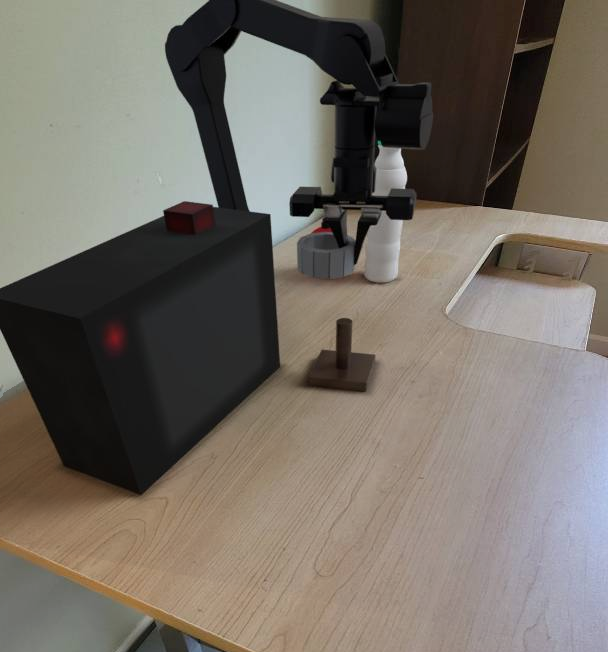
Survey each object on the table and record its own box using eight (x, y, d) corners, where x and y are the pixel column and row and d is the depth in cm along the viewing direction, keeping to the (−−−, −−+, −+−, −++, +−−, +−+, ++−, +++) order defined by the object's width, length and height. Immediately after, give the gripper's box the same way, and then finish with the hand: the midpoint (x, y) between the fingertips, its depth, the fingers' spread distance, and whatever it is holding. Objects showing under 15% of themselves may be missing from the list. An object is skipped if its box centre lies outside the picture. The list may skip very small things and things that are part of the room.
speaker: (51, 461, 69) (-42, 269, 51) (203, 348, 90) (174, 184, 72) (141, 495, 64) (72, 294, 46) (280, 366, 84) (269, 194, 67)
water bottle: (359, 281, 108) (366, 131, 90) (369, 269, 112) (378, 124, 94) (392, 285, 106) (406, 132, 88) (401, 273, 110) (416, 125, 92)
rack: (308, 385, 80) (307, 332, 74) (321, 357, 86) (321, 306, 80) (365, 391, 78) (369, 337, 72) (375, 363, 84) (379, 310, 78)
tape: (292, 276, 84) (292, 250, 81) (304, 256, 90) (304, 230, 87) (349, 281, 82) (351, 254, 79) (357, 259, 88) (359, 233, 85)
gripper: (425, 135, 77) (412, 249, 88) (303, 134, 80) (306, 244, 92) (419, 151, 70) (406, 273, 81) (285, 149, 73) (291, 267, 84)
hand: (350, 263), depth 85 cm, fingers closed on tape
